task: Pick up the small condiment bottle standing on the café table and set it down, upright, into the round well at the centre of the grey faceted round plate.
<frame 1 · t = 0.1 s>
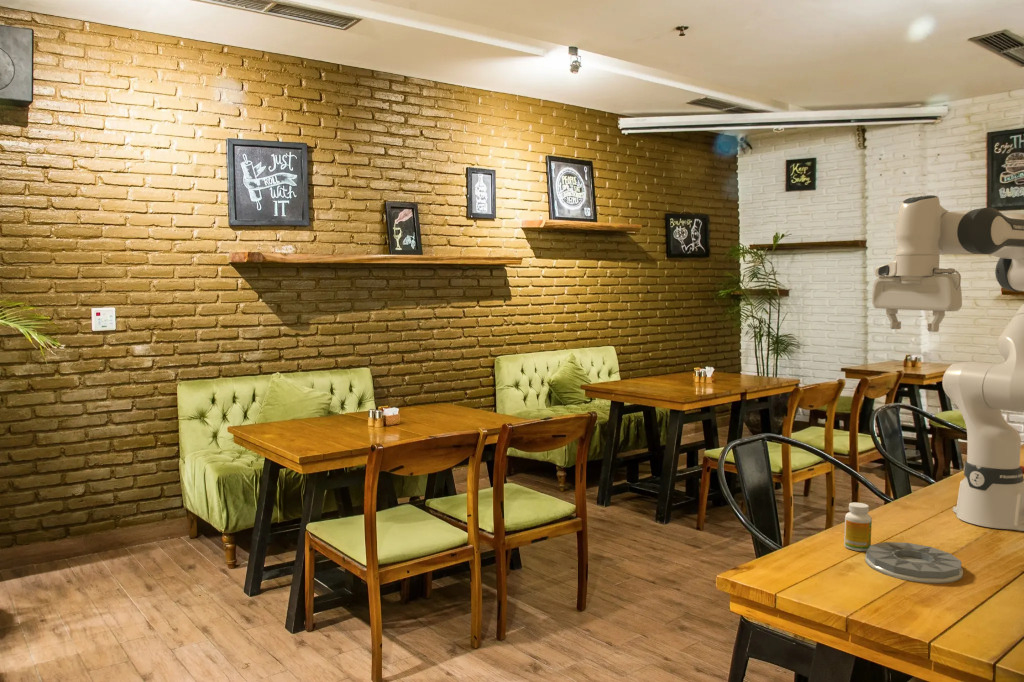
hand: (913, 330, 175), 48 cm above the table, fingers open, 8 cm apart
supplement bottle: (857, 548, 173), on the table
grey faceted round plate: (912, 566, 161), on the table
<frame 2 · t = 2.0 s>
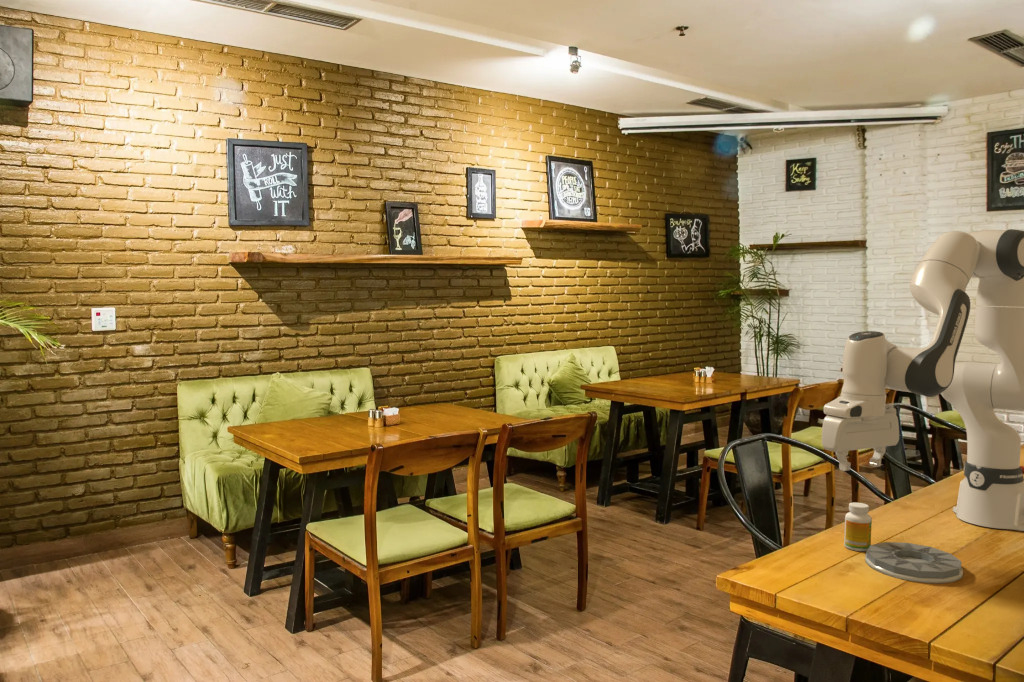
hand: (860, 468, 171), 18 cm above the table, fingers open, 8 cm apart
nothing on the table moved.
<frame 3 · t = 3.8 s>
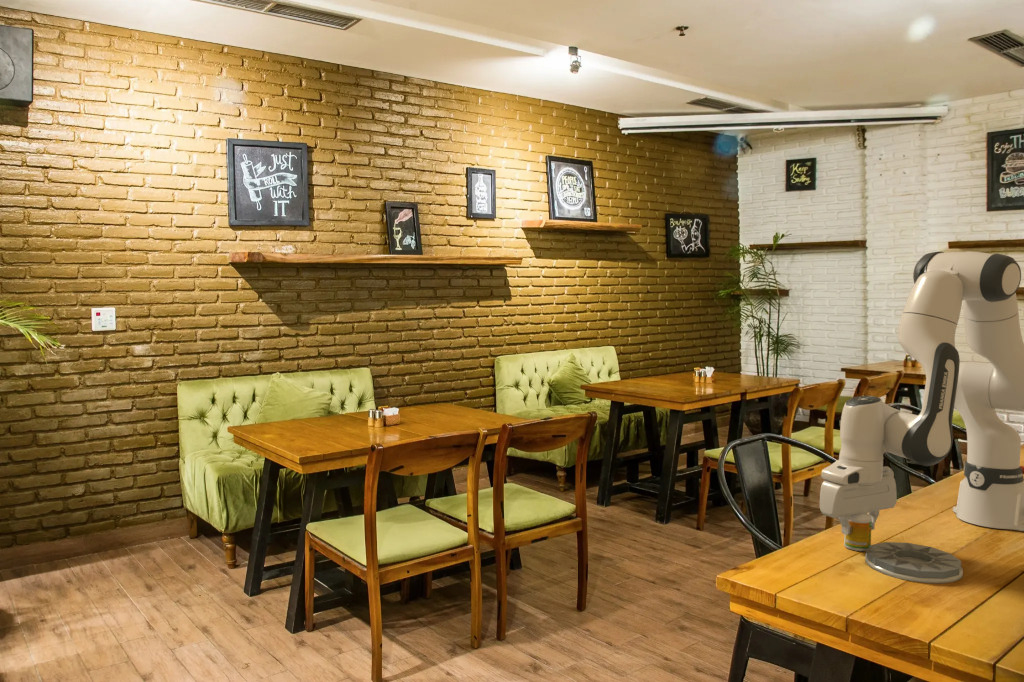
hand: (857, 531, 172), 4 cm above the table, fingers closed on supplement bottle, 5 cm apart
supplement bottle: (857, 548, 173), on the table, touching gripper
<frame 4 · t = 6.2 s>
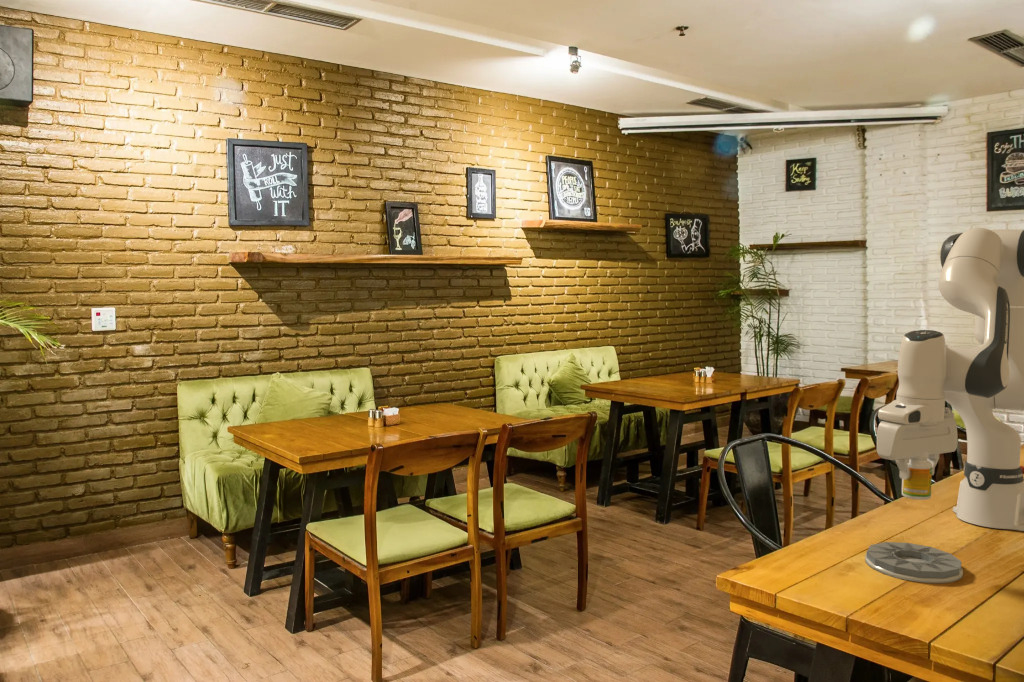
hand: (916, 476, 160), 19 cm above the table, fingers closed on supplement bottle, 5 cm apart
supplement bottle: (916, 497, 160), point 15 cm above the table, touching gripper
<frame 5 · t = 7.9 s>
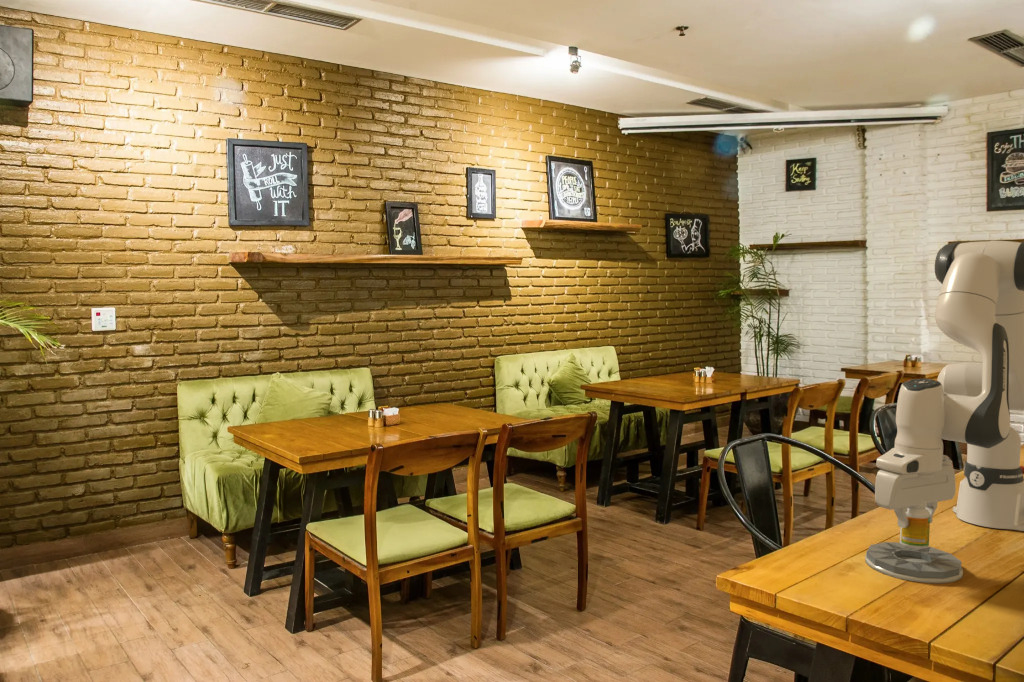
hand: (914, 524, 161), 9 cm above the table, fingers closed on supplement bottle, 5 cm apart
supplement bottle: (914, 546, 161), point 4 cm above the table, touching gripper
when the fingers open (6 cm above the table, at t = 9.1 s): supplement bottle stays where it is, resting on grey faceted round plate.
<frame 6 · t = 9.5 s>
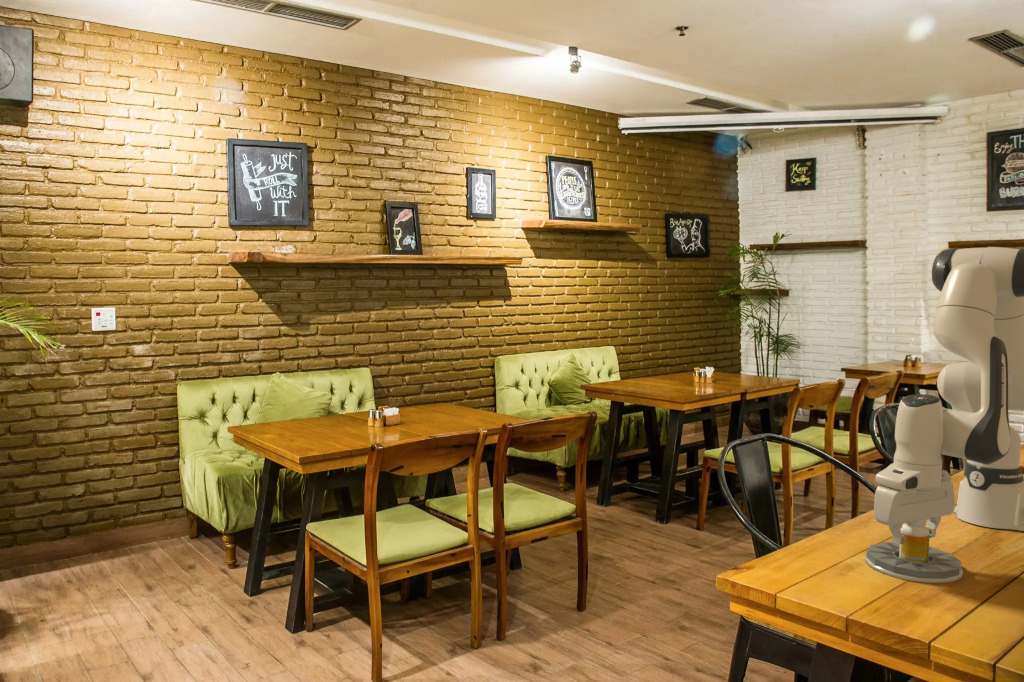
hand: (914, 540, 161), 6 cm above the table, fingers open, 8 cm apart
supplement bottle: (913, 563, 161), point 1 cm above the table, touching grey faceted round plate
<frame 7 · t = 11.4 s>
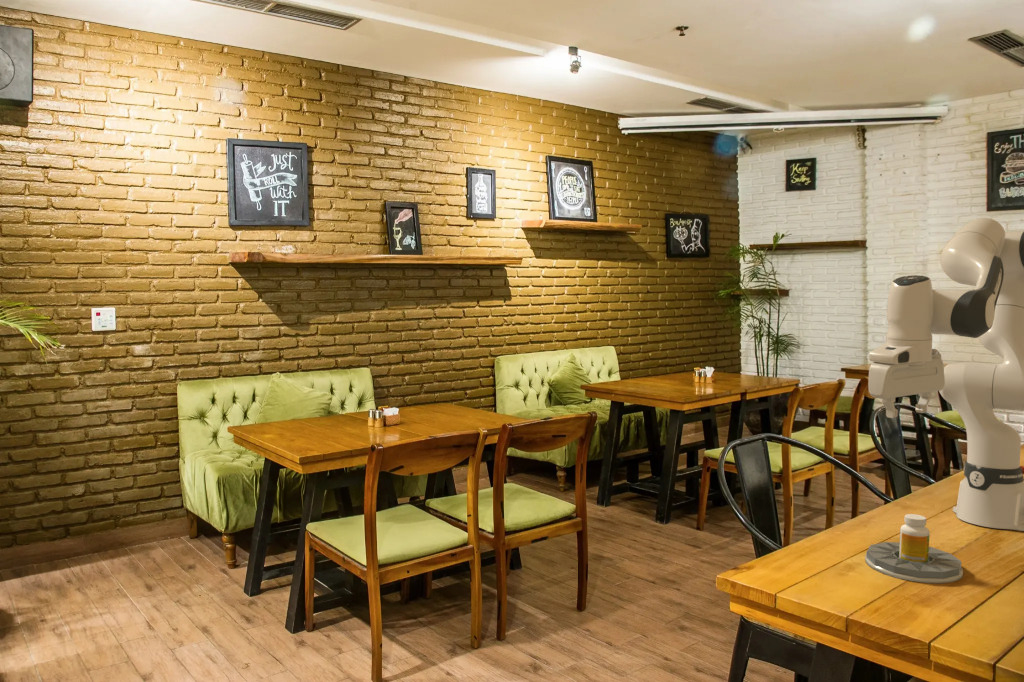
hand: (906, 414, 169), 30 cm above the table, fingers open, 8 cm apart
nothing on the table moved.
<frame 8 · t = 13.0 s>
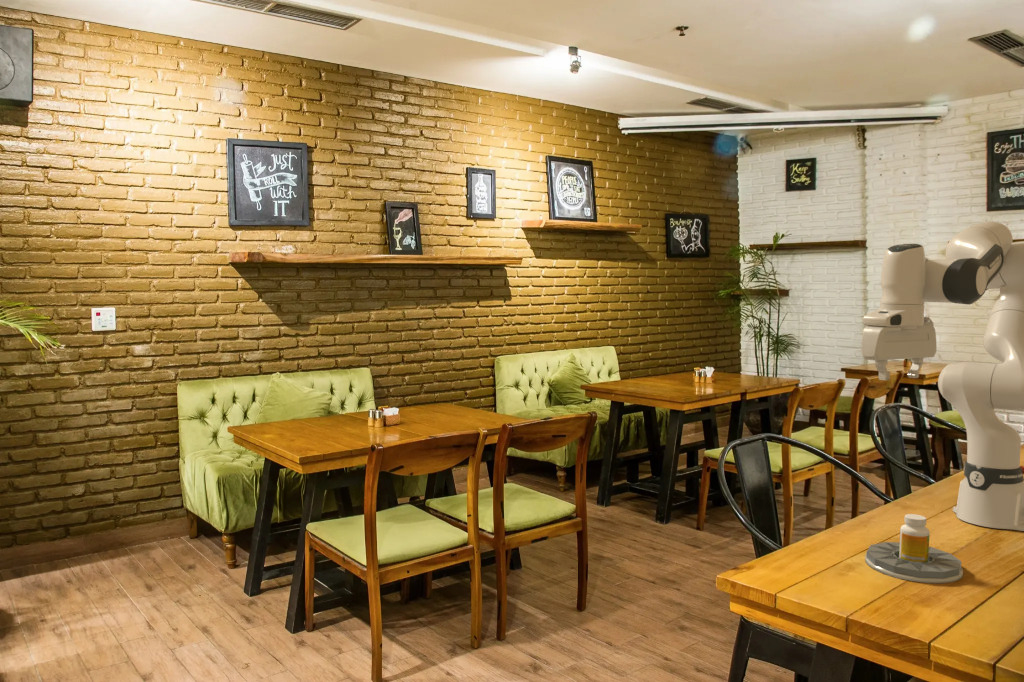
hand: (898, 378, 174), 37 cm above the table, fingers open, 8 cm apart
nothing on the table moved.
at the end: supplement bottle 0.1 cm off-centre on the grey faceted round plate, point 0.6 cm above the grey faceted round plate's base; supplement bottle tilted 0°; the gripper is holding nothing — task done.
